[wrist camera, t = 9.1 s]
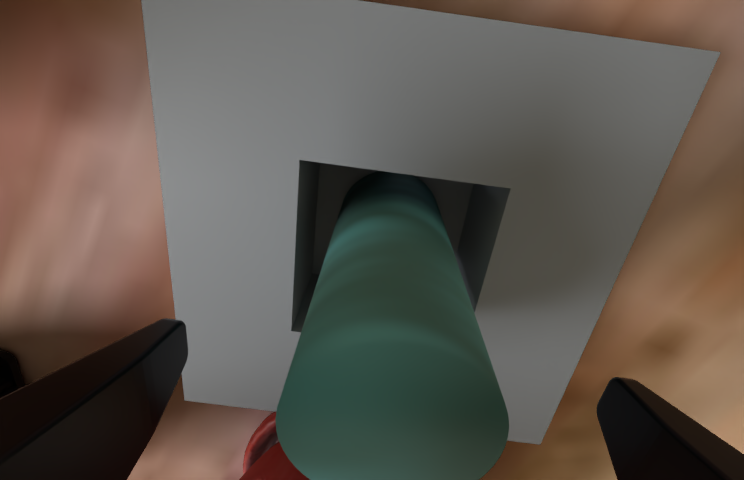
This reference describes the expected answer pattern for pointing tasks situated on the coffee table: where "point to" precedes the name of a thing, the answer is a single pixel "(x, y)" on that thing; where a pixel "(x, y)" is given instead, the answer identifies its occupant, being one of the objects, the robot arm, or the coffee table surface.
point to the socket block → (403, 172)
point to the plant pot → (268, 456)
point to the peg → (391, 351)
